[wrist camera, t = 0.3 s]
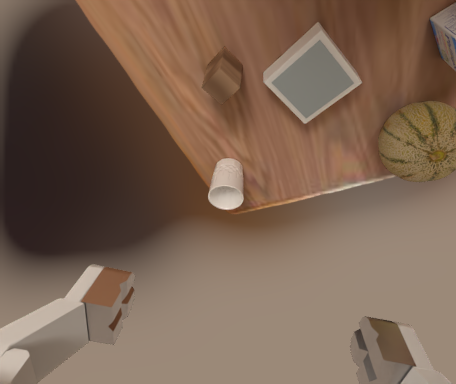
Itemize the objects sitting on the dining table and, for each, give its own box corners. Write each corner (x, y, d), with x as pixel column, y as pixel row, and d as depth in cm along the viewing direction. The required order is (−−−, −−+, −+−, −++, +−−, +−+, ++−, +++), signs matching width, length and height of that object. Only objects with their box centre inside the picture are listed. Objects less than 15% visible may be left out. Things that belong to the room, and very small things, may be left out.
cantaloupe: (395, 160, 68) (420, 210, 58) (354, 125, 63) (372, 174, 52) (465, 115, 59) (509, 166, 49) (424, 70, 54) (463, 115, 43)
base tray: (318, 21, 49) (321, 30, 47) (357, 72, 55) (362, 83, 52) (263, 72, 56) (263, 82, 53) (303, 113, 62) (305, 124, 59)
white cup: (237, 183, 78) (234, 213, 71) (208, 173, 76) (203, 203, 69) (250, 162, 72) (249, 192, 65) (220, 151, 70) (215, 180, 63)
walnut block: (224, 46, 53) (219, 68, 47) (242, 64, 55) (240, 87, 49) (208, 64, 56) (201, 87, 50) (225, 80, 58) (221, 105, 52)
